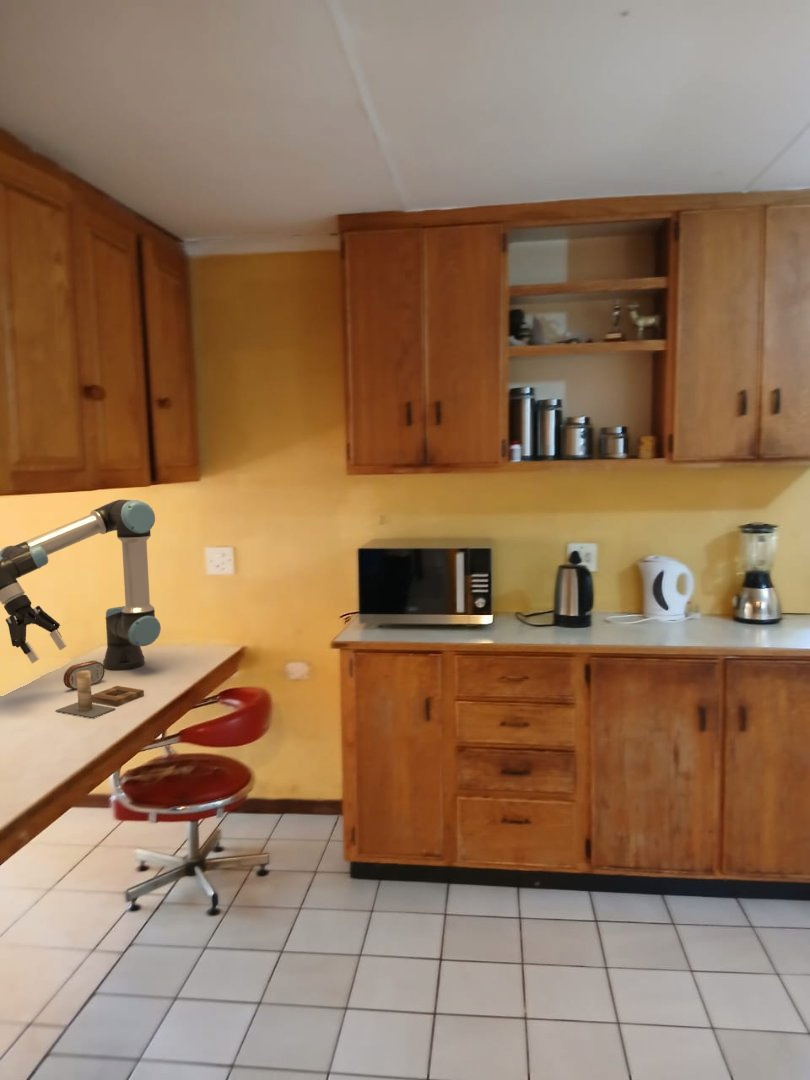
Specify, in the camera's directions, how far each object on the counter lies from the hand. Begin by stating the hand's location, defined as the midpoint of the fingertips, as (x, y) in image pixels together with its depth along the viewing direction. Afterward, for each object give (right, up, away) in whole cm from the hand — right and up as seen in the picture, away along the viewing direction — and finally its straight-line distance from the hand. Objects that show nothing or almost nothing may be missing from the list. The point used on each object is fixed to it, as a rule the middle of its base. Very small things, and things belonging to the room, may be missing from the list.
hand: (50, 654), depth 239 cm
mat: (+14, -17, -7) cm, 23 cm away
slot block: (+20, -16, +5) cm, 26 cm away
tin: (+3, -15, +19) cm, 24 cm away
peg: (+14, -16, -7) cm, 23 cm away
